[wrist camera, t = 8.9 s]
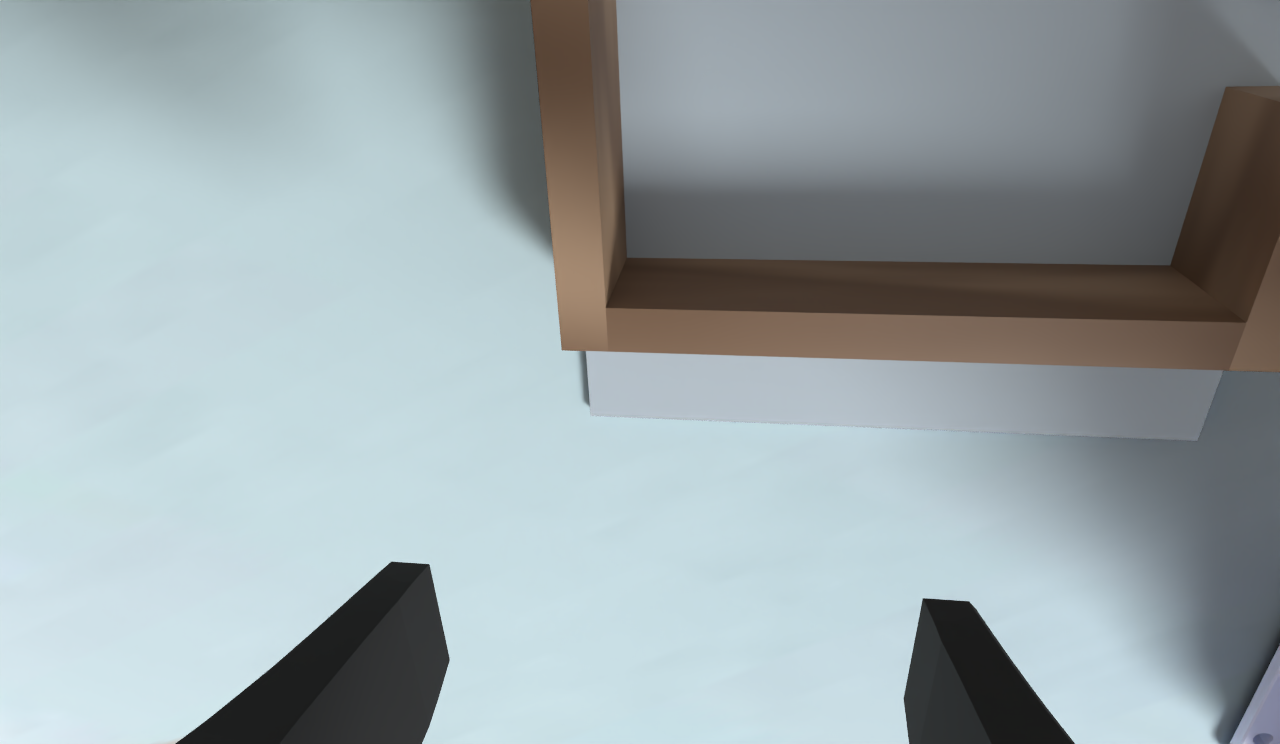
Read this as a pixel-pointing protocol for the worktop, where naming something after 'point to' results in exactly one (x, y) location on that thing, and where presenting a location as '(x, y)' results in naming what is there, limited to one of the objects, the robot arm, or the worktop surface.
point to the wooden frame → (903, 291)
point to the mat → (921, 182)
